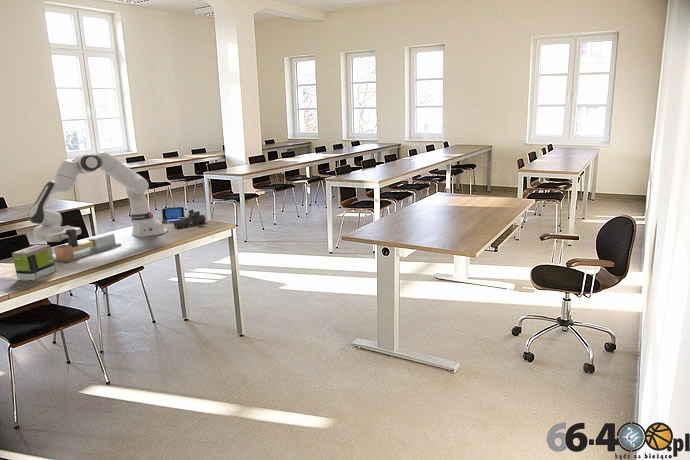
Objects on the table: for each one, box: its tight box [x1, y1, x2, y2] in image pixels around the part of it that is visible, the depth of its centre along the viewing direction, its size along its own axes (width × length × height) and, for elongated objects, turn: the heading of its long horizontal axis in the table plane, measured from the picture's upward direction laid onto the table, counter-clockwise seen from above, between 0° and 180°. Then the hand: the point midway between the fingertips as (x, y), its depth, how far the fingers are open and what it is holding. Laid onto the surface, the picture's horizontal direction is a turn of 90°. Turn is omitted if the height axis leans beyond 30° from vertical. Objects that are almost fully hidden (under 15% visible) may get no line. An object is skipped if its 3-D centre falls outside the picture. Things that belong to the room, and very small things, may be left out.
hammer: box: [66, 229, 95, 253], centre depth 303 cm, size 25×4×13 cm, turn 155°
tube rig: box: [53, 232, 122, 264], centre depth 308 cm, size 38×12×8 cm, turn 155°
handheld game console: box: [161, 206, 185, 224], centre depth 387 cm, size 16×13×9 cm
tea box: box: [11, 244, 57, 282], centre depth 268 cm, size 15×10×15 cm, turn 163°
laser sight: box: [172, 209, 207, 229], centre depth 369 cm, size 10×22×10 cm, turn 133°
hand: (72, 235), depth 298 cm, fingers open, 3 cm apart
